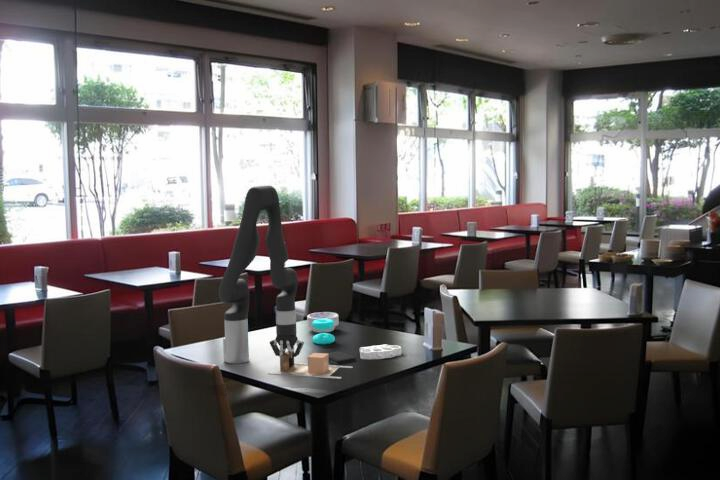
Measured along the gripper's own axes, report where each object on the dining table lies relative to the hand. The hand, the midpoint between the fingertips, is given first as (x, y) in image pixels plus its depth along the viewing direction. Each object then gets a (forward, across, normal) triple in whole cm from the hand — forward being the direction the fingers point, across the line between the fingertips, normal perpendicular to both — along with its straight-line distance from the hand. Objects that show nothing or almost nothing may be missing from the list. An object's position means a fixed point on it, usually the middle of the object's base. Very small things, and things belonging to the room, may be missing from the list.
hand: (287, 366), depth 247 cm
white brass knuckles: (+3, +28, +32) cm, 42 cm away
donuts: (+2, -2, +48) cm, 48 cm away
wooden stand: (+2, +8, 0) cm, 9 cm away
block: (+1, +12, 0) cm, 13 cm away
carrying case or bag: (+3, +15, +18) cm, 24 cm away
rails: (+2, +9, 0) cm, 10 cm away
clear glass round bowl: (+2, -10, +70) cm, 71 cm away
